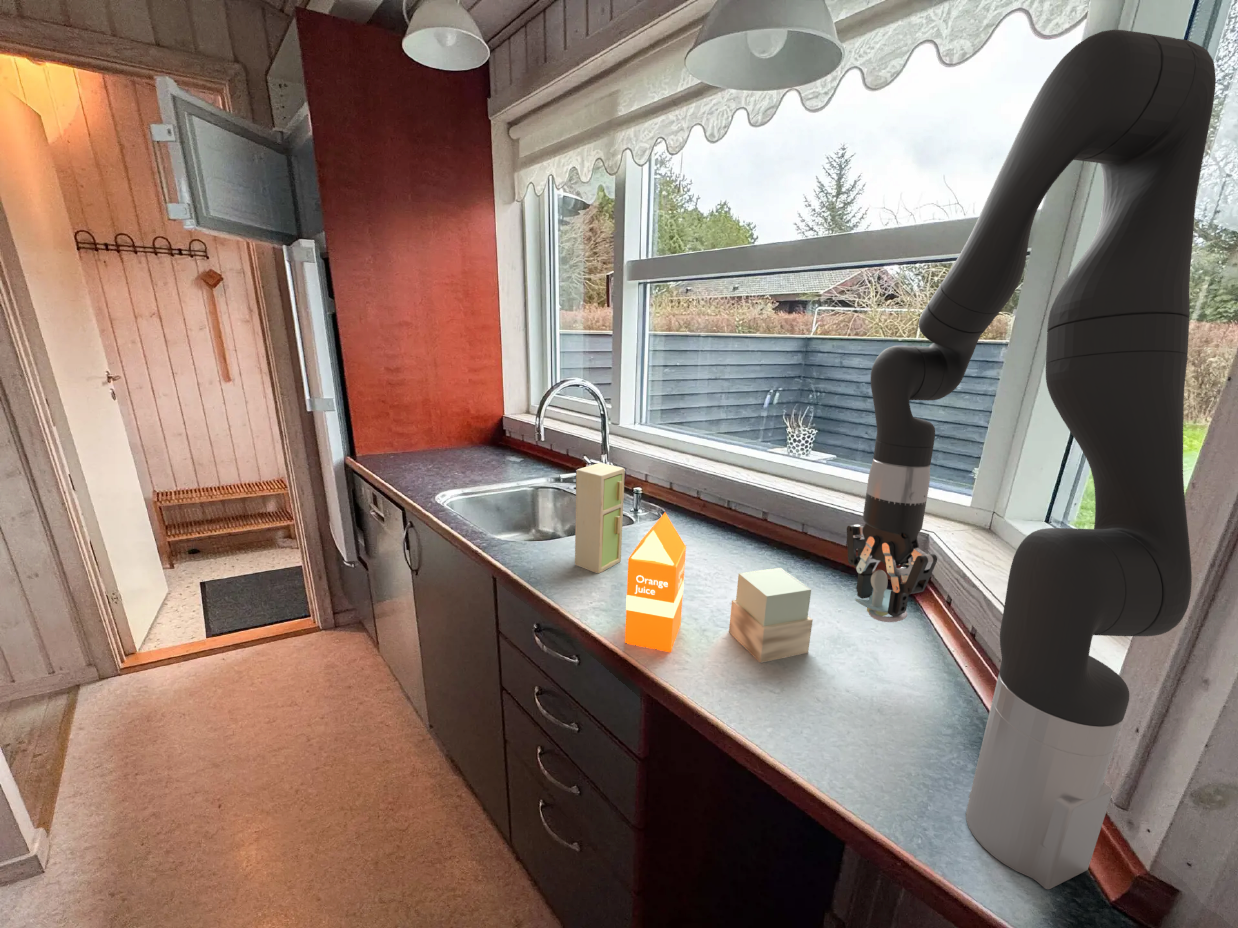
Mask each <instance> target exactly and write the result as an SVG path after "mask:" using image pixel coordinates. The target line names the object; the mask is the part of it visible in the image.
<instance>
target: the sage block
mask: <svg viewBox="0 0 1238 928" xmlns="http://www.w3.org/2000/svg"><path fill="white" fill-rule="evenodd" d="M737 577H738V578H737V587H736V596H735V597H736V598H735V600H736V601H737V602H738V603H739V604H740V605H741V606H742V607H743V608H744V609H745V610H746V611H748V612H749V613H750V614H751V615H752V616H753V617H754V618H755V619H756V620H757V621H759V622H760V623H761V624H762V625H763V626H767V625H773V624H779V623H785V622H791V621H796V620H802V619H807V618H808V616H809V609H810V602H811V595H812V589H811V588H810V587H808V585H806V584H804V583H803V582H801V580H798V578H796V577H794V576H793V575H792V574H790V573H789V572H787V571H786V570H784V569H783V568H782V567H775V568H767V569H759V570H753V571H752V570H751V571H746V572H739V573H738V576H737Z"/></svg>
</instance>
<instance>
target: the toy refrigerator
mask: <svg viewBox="0 0 1238 928" xmlns="http://www.w3.org/2000/svg"><path fill="white" fill-rule="evenodd" d="M625 470H626V469H625V467H621V466H618V465H617V466H616V465H613V464H608V463H604V462H599V463H595V464H591V465H588V466H585V467H581V468H578V469H576V474H575V534H574V536H575V537H574V539H575V543H574V564H575V566H577V567H580V568H583V569H585V570H588V571H590V572H593V573H596V574H600V573H602V572H604V571H606V570H608V569H611V567H614V566H615V565H617V564H618V563H619V564H620V562H621V560H622V548H623V547H622V544H623V543H622V540H623V515H624V514H623V513H624V496H625V495H624V494H625V474H626V473H625V472H626V471H625Z"/></svg>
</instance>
